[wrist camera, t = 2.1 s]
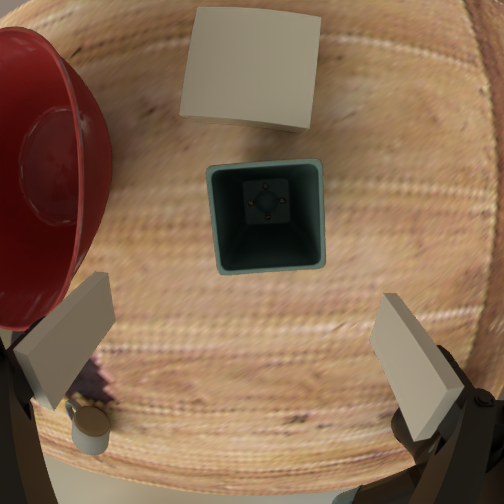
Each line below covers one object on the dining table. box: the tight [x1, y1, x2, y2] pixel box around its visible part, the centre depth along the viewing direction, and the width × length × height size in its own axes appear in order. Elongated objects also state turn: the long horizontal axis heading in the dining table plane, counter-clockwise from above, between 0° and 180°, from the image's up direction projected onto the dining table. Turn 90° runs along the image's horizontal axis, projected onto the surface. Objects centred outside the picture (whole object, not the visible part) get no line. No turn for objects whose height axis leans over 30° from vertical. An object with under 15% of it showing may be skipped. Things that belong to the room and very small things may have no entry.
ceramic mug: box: [65, 399, 110, 455], centre depth 41 cm, size 11×8×8 cm
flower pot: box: [206, 158, 326, 275], centre depth 27 cm, size 9×9×9 cm
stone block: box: [179, 7, 321, 133], centre depth 24 cm, size 11×11×6 cm
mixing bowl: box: [0, 27, 112, 331], centre depth 23 cm, size 28×28×16 cm
